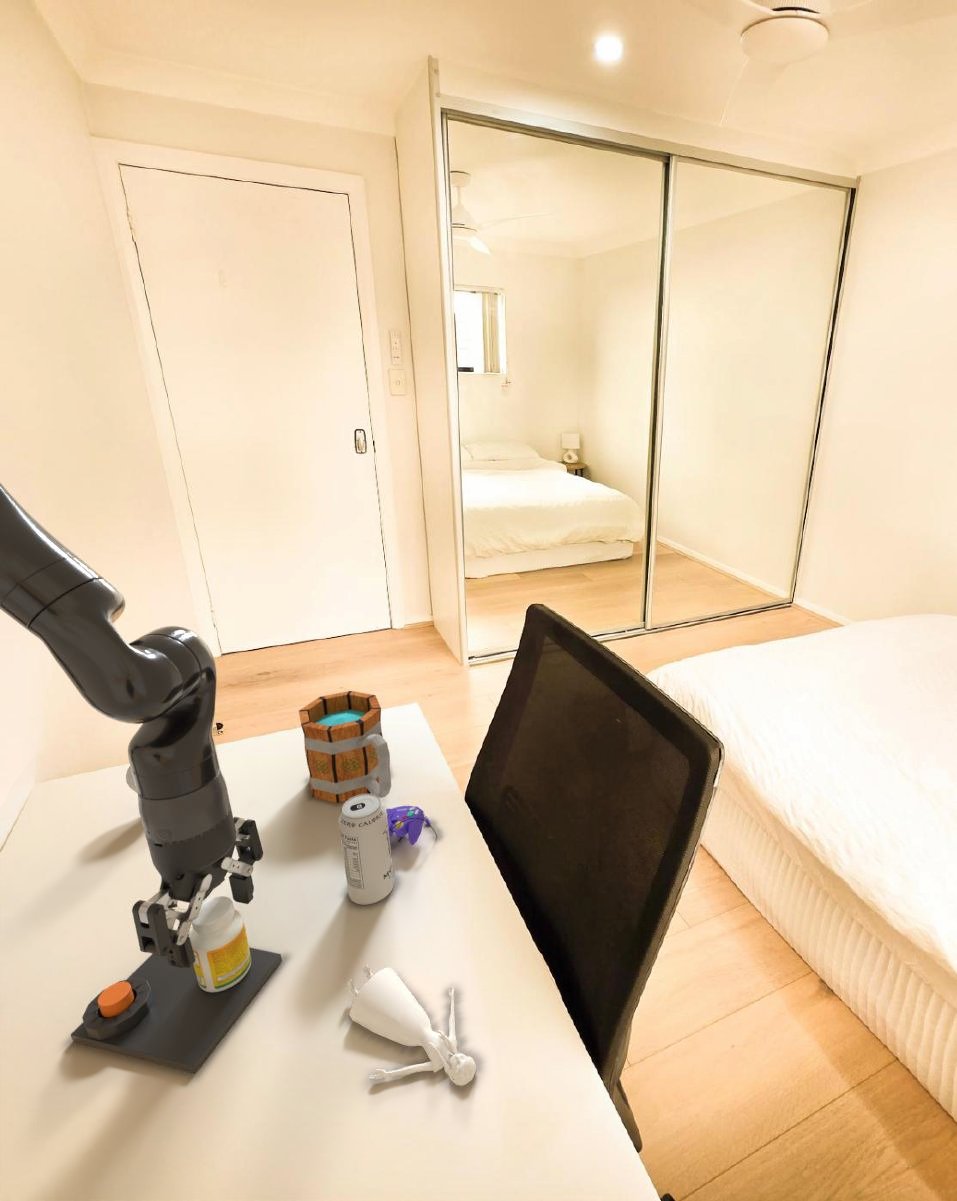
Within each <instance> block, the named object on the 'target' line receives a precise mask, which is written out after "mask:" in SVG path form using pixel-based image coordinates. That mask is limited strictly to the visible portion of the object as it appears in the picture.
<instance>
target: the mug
mask: <svg viewBox="0 0 957 1201" xmlns="http://www.w3.org/2000/svg"><path fill="white" fill-rule="evenodd" d="M298 715H299V721H300V725H301V729H302V733H303V741H304V742H303V744H304V754H305V759H306V764H307V768H308V771H309V784H310V789H311V790H310V791H311V795H312V798H314V799H319V800H323V801H327V802H332V803H337V804H340V803H345V802H346V801H347V800H349V799H350V798H352V797H354V796H357V795H360V794H374V795H376V796H378V797H379V798H380V799H382V798H385V797H387V796H388V795H389V794H390V791H391V788H392V775H391V752H390V749H389V745H388V742H387V741H386V739H385V738H384V736H383V731H382V722H381V721H382V720H381V717H382V716H381V715H382V707H381V704H380V702H379V700H378V698H377V696H376V694H371V693H365V692H359V691H354V690H347V691H343V692H337V693H332V694H327V695H321V696H319V697H317V698H316V699H314V700H312V701H311V702H310V703H308V704H307V705H305V706H303V707H302V708H301V709H299V710H298Z"/></svg>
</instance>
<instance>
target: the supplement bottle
mask: <svg viewBox="0 0 957 1201" xmlns="http://www.w3.org/2000/svg"><path fill="white" fill-rule="evenodd" d="M232 900H233V899H231V898H230V897H228V896H224V895H223V896H222V895H221V896H215V897H212V898H209V899H206V900H204V901H203V902H202V905H201V909H200V912H199V915H198V917H197V918H196V919H194V920H193V921H192V923H191V928H190V930H189V933H188V934H189V936H188V937H190V941H191V944H192V948H193V952H194V956H195V960H196V961H195V962H194V963H193V964H194V968H195V972H196V976H197V980H198V984H199V986H200V987H201V988H202V989H203V990H204V991H207V992H219V991H223V990H226V989H228V988H230V987H232V986H234V985H235V984H237V983H238V982H239V981H240V980H241V979H242V978H243V977H244V976H245V975H246V974H247V972H248V970H249V968H250V966H251V955H250V950H249V948H250V945H249V940H248V935H247V930H246V925H245V920H244V917H243V915H242V914H241V912H240V911H239V910H237V909H235V907H234V903H233V901H232Z"/></svg>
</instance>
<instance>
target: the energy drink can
mask: <svg viewBox="0 0 957 1201" xmlns="http://www.w3.org/2000/svg"><path fill="white" fill-rule="evenodd" d="M386 809H387V807H386V806H385V805H384V803H382V800H381V798H379V797H378V796H376V795H374V794H372V793H371V794H360V795H357V796H354V797H352V798H350V799H349V800H347V801H344V802H343V805H342V807H341V813H340V815H339V816H338V820H337V821H338V828H339V835H340V836H339V837H340V843H341V850H342V857H343V863H344V865H343V866H344V871H345V872H344V873H345V878H346V884H347V893H348V897H349V900H351V902H353V903H355V904H357V905H365V906H366V905H372V904H376V903H378V902H381V901H382V900H384V899H385V898H386V897H387V896H388V895H389V894H390V893H391V892H392V890H393V888H394V887H395V878H394V869H393V859H392V850H391V842H390V840H391V839H390V837H389V830H388V820H387V811H386Z"/></svg>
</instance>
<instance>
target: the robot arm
mask: <svg viewBox="0 0 957 1201" xmlns="http://www.w3.org/2000/svg"><path fill="white" fill-rule="evenodd" d="M126 603H127V602H126V599H125V597H124V595H123V594H122V593H121V592H120V591H119V590H118V589H117V588H116V587H115V586H114V585H113V584H111V582H109V581H108V580H107V579H105V578H104V577H103V576H102V575H101V574H100V573H98V572H97V571H96V570H95V569H94V568H92V567H91V566H90V565H89V564H88V563H87V562H85V561H84V560H83V559H82V558H80V557H79V556H78V555H77V554H75V553H74V552H73V551H72V550H71V549H69V547H67V546H66V545H64V544H63V543H62V542H61V541H59V539H57V538H56V537H55V536H54V535H53V534H52V533H51V532H49V531H48V530H47V529H46V528H45V527H44V526H43V525H42V524H41V523H39V521H38V520H37V519H35V518H34V517H33V515H31V514H30V513H29V512H28V511H27V510H26V509H25V508H24V507H23V506H22V505H21V504H20V503H19V501H18V500H17V499H16V498H15V497H14V496H13V495H12V493H10V492H9V490H8V489H7V488H6V487H5V486H4V485H3V483H2V482H0V610H1V611H2V612H4V613H5V614H6V615H7V616H8V617H10V618H11V619H12V620H14V621H15V622H16V623H18V624H19V625H20V626H22V627H23V628H24V629H25V630H27V631H28V632H29V633H30V634H32V635H33V636H34V637H36V638H38V639H39V640H40V641H41V642H42V643H43V644H44V646H45V647H46V649H47V650H48V651H49V653H50V654H51V656H52V657H53V659H54V660H55V661H56V663H57V665H59V667H60V668H61V669H62V671H63V672H64V673H65V675H66V676H67V678H68V679H69V680H70V682H71V683H72V685H73V686H74V688H75V689H76V690H77V692H78V693H79V695H80V696H81V697H82V698H83V699H84V700H85V702H86V703H87V704H88V705H89V706H90V707H91V708H92V709H94V710H95V711H96V712H98V713H99V714H101V715H102V716H105V717H107V718H109V719H111V720H114V721H117V722H120V723H124V724H131V725H140V727H139V728H138V729H137V731H136V732H135V733H134V735H133V736H132V738H131V739H130V740H129V742H128V746H127V757H128V762H129V767H131V771H132V775H133V778H134V782H135V786H136V789H137V793H136V794H137V802H138V805H137V807H138V812H139V817H140V820H141V824H142V827H143V831H144V835H145V839H146V842H147V846H148V850H149V853H150V854H149V855H150V857H151V861H152V864H153V866H154V868H155V869H156V871H157V873H158V874H159V875H160V877H161V878H160V879H161V880H160V886H159V891H158V892H157V893H155V894H153V896H151V897H150V898H149V899H148V900H142V899H139V900H137V901H136V902H135V903H134V904H133V906H132V908H131V913H132V918H133V922H134V927H135V931H136V937H137V941H138V945H139V950H140V952H141V953H146V954H147V953H148V954H151V955H152V954H157V955H159V956H167V959H168V963H169V964H170V965H171V966H176V967H180V968H183V967H186V968H190V967H191V965H192V964H193V963H194V962H195V961H196V960H195V956H194V952H193V948H192V944H191V941H190V937H187V936H188V934H189V933H190V930H191V927H192V921H193V920H194V919H196V918H197V917H198V915H199V912H200V909H201V905H202V903H203V902H205V901H206V900H207V898H208V897H209V896H210V895H211V893H212V892H213V891H214V890H215V889H216V888H217V887H219V886H220V885H221V884H222V883H224V882H225V880H226V876H227V874H230V875H229V876H228V881H229V886H230V890H231V894H232V900H233V901H235V902H236V903H240V904H244V905H248V904H250V903H251V902H252V901H253V900H254V891H255V886H254V882H253V876H252V874H253V872H254V864H255V863H256V862H259V861H261V860H262V859H263V857H264V849H263V845H262V842H261V839H260V835H259V831H258V827H257V822H256V820H254V819H250V818H245V817H238V816H234V814H233V810H232V804H231V800H230V796H229V790H228V785H227V782H226V779H225V777H224V775H223V773H222V770H221V766H220V762H219V757H218V753H217V752H218V751H217V747H216V743H215V739H214V736H213V726H214V720H215V713H216V698H217V681H218V680H217V678H218V676H217V667H216V661H215V658H214V655H213V653H212V650H211V648H210V647H209V645H208V644H207V642H206V641H205V639H203V638H202V637H201V636H200V635H199V634H197V633H196V632H194V631H192V630H191V629H188V628H186V627H184V626H179V625H178V626H177V625H168V626H163V627H159V628H156V629H153V630H151V631H149V632H147V633H146V634H144V635H142V636H140V637H138V638H136V639H134V640H133V641H131V642H129V643H128V642H127V641H126V640H125V639H124V638H123V636H122V635H121V634H120V633H119V631H118V630H117V628H116V627H115V624H114V623H115V622H117V621H118V620H119V619H120V617H121V616H122V615H123V613H124V611H125V610H126V606H127V605H126ZM235 849H236V852H237V855H238V858H237V859H235V858H233V855H234V851H235ZM178 902H183V903H188V907H187V909H186V908H181V907H179V906H178ZM176 920H178V925H177V929H174V926H175V924H176Z"/></svg>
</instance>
